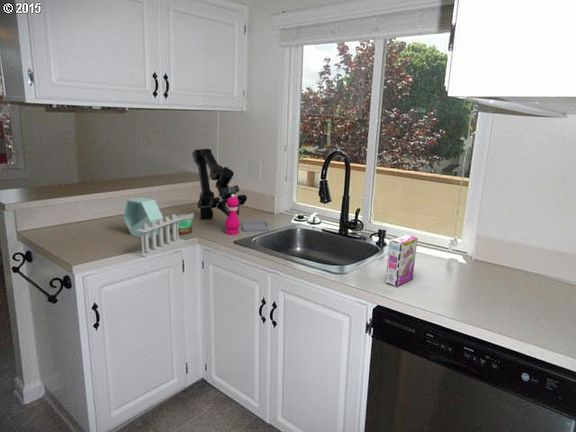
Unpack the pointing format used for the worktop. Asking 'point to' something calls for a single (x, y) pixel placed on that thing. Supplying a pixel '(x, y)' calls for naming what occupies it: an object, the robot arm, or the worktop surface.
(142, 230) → the test tube rack
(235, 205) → the pink bowling pin
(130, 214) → the planter
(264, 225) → the slate tray
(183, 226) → the food container
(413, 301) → the worktop surface
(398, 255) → the candy bar box
